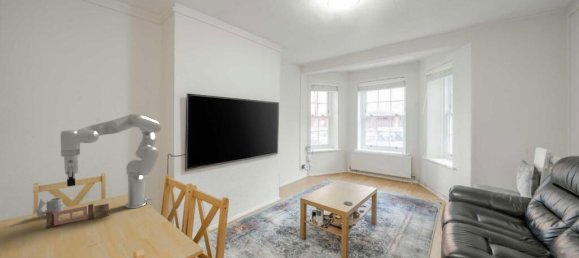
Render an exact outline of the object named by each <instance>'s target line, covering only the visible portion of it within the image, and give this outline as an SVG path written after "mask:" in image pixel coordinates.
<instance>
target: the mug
mask: <svg viewBox="0 0 579 258" xmlns="http://www.w3.org/2000/svg"><path fill="white" fill-rule="evenodd" d="M45 205H46V210H44V211H43V210H42V208H43V207H44V206H45ZM63 205H64V202H63V198H62V197H53V198H49V199H47V201H44V200H43V199H42V198H41V199H40V201H39V203H38V207H37V208H36V211H35V212H36V215H37V216H38V217H39V218H43V217H44V216H46V213H47V212H52V213H53V214H54V212H57V211H63V210H64V207H63ZM60 216H61V215H58V217H60Z"/></svg>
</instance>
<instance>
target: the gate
mask: <svg viewBox="0 0 579 258" xmlns="http://www.w3.org/2000/svg"><path fill="white" fill-rule="evenodd" d="M77 212H83V213H82V214H83V216H79V217H73V213H77ZM67 214H69V219H64V220H63V219H62V220H59V216H58V215H60V216H62V215H67ZM83 220H88V205H85V206H81V207H80V206H79V207H75V208H70V209H63V211H57V212H54V226H58V225H63V224H68V223H72V222H74V223H75V222H76V221H83ZM54 226H53V227H54Z"/></svg>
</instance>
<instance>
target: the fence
mask: <svg viewBox="0 0 579 258" xmlns="http://www.w3.org/2000/svg"><path fill="white" fill-rule="evenodd" d="M109 205H110V204H109V203H104V204H98V205H94V204H93V203H91V204H88V205H87V220H89V221H91V220H94V219H98V218H102V217H107V216H109V215H110V214H109V213H110V212H109V211H110V210H109V207H110V206H109ZM45 219H46V220H45V225H46V229H48V230H49V229H51V228H53V227H54V214H53V213H52V212H47V213H46V214H45Z"/></svg>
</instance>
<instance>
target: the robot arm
mask: <svg viewBox="0 0 579 258" xmlns="http://www.w3.org/2000/svg"><path fill="white" fill-rule="evenodd" d="M132 128H139V129H140V131H141V133H142V138H141V140H140V142H139V145H138V147H137V149H136V151H135V156H136V158H139V159H141V160H139V159H133V160H130V161H129V162H128V163H127V165H126V168H125V169H126V174H127V190H128V191H127V203H126V204H125V205H124V207H125V208H127V209H137V208H142V207H144V206H146V205H147V204H148V201H153V197H151V196H147V197H145V195H146V193H145V183H146V182H145V179H146V178H145V176H148V175H150V173H151V172H152V171H153V168H154V167H155V164H156V162H157V160H158V158H159V150H158V148H157V147H156V146H155V144H156V142H157V135H156V134H158V133H159V132H160V131H161V130H162V124H161V123H160V122H159V121H157V120H155V119H152V118H150V117H148V116H146V115H145V116H144V115H142V114H133V113H132V114H127V115H124V116H120V117H117V118H116V119H111V120H108V121H104V122H100V123H96V124H91V125H89V126H86V127H85V126H84V127H82V128H80V129H76V130H62V131H61V132H60V157H63V158H64V160H63V161H64V163H63V164H64V166H63V167H64V172H65V175H66V176H67V179H66V186H67V187H74V186H76V177H75V175H78V173H79V158H78V157H79V156H80V155H81V144H92V143H95V142H97V141H98V140H99V138H100V136H104V135H105V136H106V135H114V134H118V133H121V132H123V131H127V130H130V129H132ZM145 202H146V203H147V204H146V203H145Z"/></svg>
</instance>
